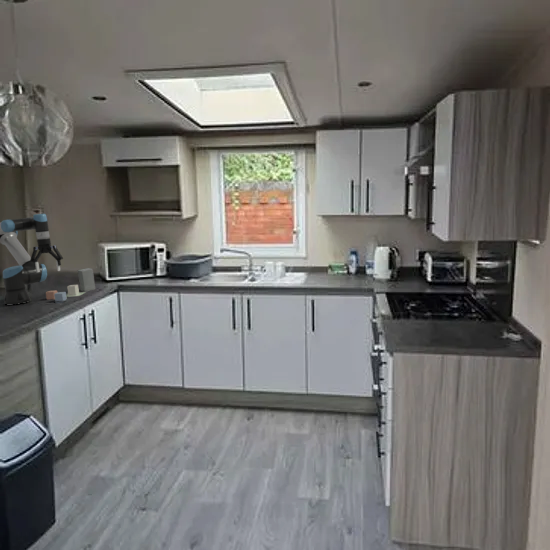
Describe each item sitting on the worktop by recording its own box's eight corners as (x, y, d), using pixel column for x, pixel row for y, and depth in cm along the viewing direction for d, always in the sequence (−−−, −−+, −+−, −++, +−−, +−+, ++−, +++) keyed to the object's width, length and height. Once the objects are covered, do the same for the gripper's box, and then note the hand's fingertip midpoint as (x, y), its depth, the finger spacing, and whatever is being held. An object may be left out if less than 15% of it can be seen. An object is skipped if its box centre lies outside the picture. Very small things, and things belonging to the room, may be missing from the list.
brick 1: (47, 301, 310) (45, 292, 309) (51, 299, 315) (49, 290, 314) (54, 301, 310) (53, 291, 309) (58, 299, 315) (57, 290, 314)
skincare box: (91, 290, 339) (87, 267, 336) (96, 290, 334) (93, 268, 332) (79, 292, 333) (76, 269, 330) (85, 293, 328) (81, 270, 325)
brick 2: (55, 303, 303) (54, 293, 302) (59, 301, 308) (58, 292, 307) (63, 302, 303) (62, 293, 302) (67, 301, 308) (65, 291, 306)
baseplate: (61, 298, 315) (60, 297, 315) (69, 294, 327) (69, 293, 327) (79, 297, 315) (78, 295, 314) (86, 293, 327) (86, 292, 326)
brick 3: (68, 295, 318) (67, 286, 317) (71, 293, 323) (70, 285, 322) (75, 295, 318) (74, 286, 317) (79, 293, 323) (77, 284, 322)
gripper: (20, 240, 302) (26, 273, 306) (59, 237, 301) (64, 271, 305) (27, 239, 310) (32, 271, 313) (65, 236, 308) (70, 269, 312)
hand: (48, 271), depth 309 cm, fingers open, 13 cm apart
